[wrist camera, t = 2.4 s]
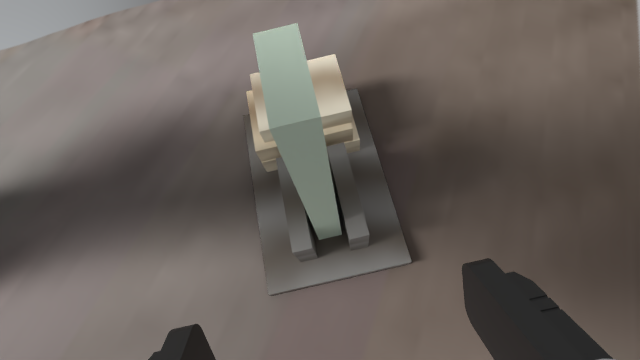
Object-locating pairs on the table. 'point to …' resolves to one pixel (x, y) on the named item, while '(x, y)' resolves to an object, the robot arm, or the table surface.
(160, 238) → the table surface
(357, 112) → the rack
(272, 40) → the slat
